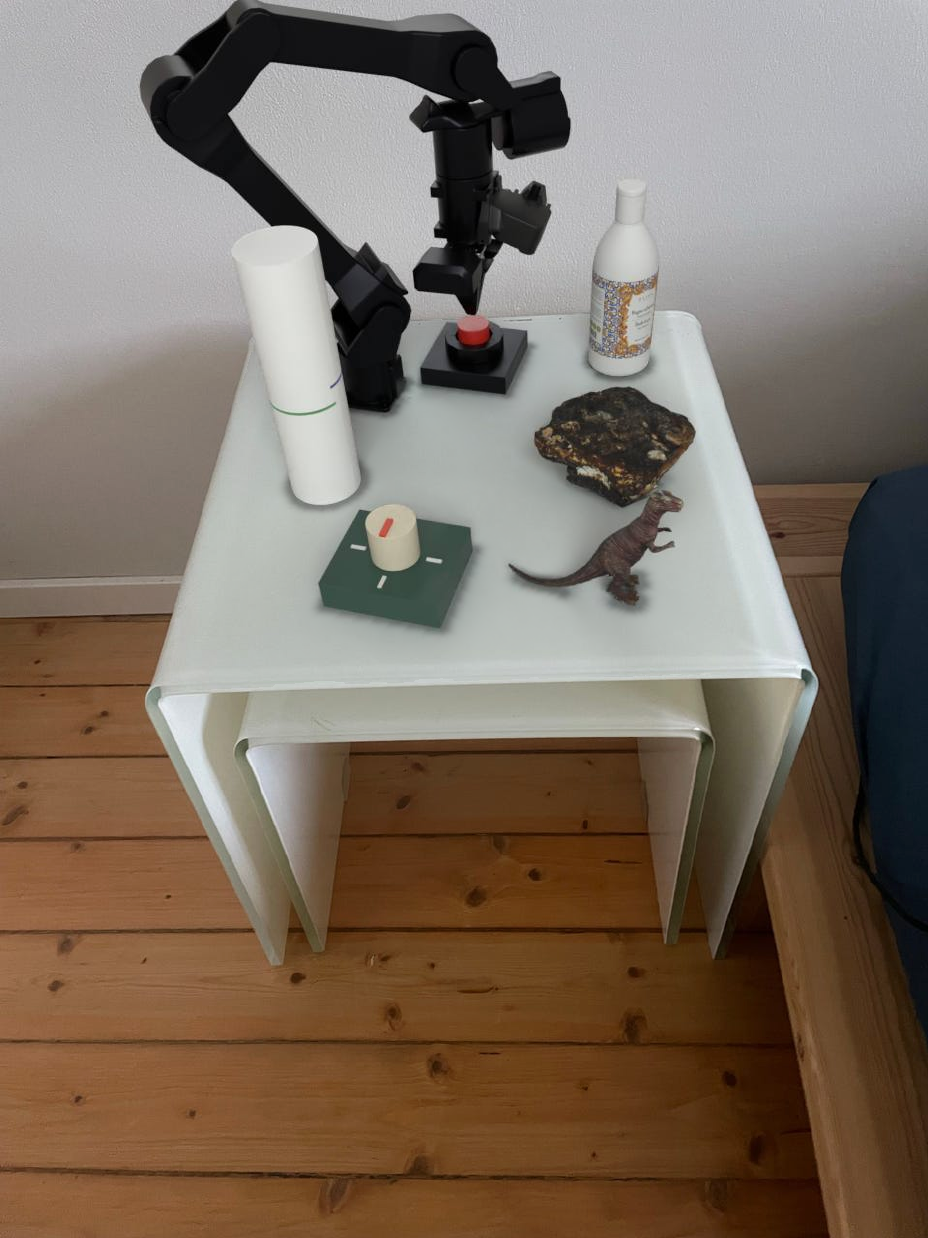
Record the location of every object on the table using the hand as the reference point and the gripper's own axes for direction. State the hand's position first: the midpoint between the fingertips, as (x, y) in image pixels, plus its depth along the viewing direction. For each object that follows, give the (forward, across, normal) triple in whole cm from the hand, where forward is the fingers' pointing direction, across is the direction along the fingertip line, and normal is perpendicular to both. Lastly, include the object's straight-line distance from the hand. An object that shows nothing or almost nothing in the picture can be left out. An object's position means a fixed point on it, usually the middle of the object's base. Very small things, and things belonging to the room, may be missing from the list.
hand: (472, 313), depth 101 cm
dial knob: (+4, -35, -3) cm, 35 cm away
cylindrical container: (+7, -24, +9) cm, 26 cm away
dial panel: (+7, -35, -3) cm, 36 cm away
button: (+3, 0, 0) cm, 3 cm away
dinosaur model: (+7, -32, -20) cm, 38 cm away
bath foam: (+7, +4, -16) cm, 18 cm away
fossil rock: (+7, -16, -19) cm, 26 cm away
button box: (+7, 0, 0) cm, 7 cm away
